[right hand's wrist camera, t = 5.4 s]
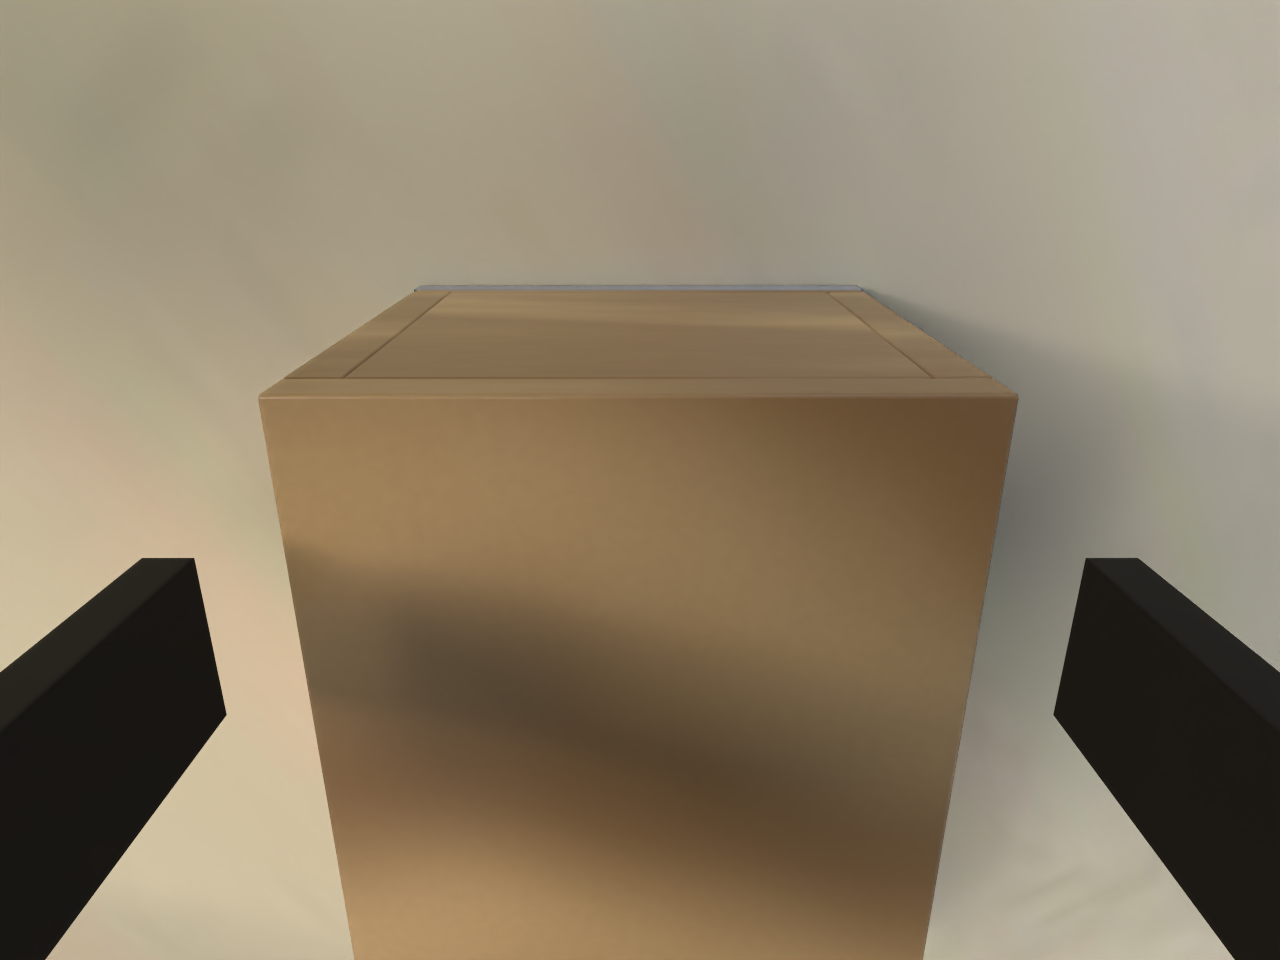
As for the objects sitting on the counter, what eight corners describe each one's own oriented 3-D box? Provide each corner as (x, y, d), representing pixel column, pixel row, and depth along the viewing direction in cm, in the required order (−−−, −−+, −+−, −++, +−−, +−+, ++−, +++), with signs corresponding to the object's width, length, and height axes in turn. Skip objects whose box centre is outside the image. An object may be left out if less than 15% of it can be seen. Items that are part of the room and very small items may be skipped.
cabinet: (809, 790, 29) (897, 1121, 19) (467, 790, 29) (380, 1121, 19) (857, 285, 23) (1022, 394, 13) (420, 285, 23) (254, 393, 13)
